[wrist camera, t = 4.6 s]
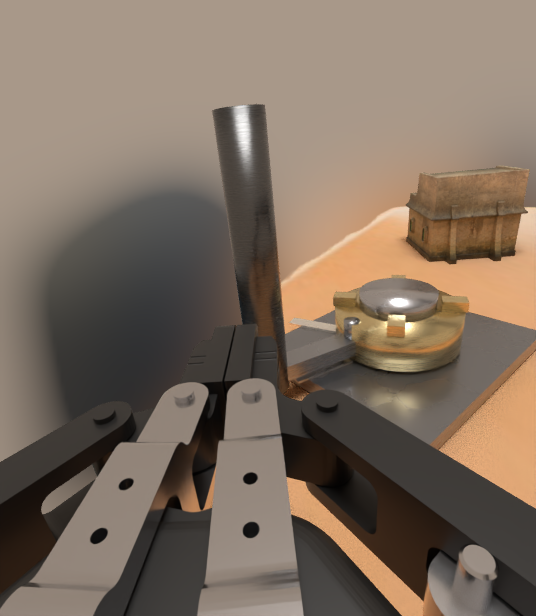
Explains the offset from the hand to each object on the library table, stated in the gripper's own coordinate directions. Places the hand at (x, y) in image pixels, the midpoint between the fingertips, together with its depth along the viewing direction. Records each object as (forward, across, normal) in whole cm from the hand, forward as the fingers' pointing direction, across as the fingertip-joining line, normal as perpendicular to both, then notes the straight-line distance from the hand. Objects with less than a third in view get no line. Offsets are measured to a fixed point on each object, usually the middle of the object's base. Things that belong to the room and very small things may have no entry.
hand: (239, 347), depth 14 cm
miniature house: (+44, -29, +11) cm, 54 cm away
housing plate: (+16, -11, +11) cm, 22 cm away
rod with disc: (+14, -7, +9) cm, 18 cm away
